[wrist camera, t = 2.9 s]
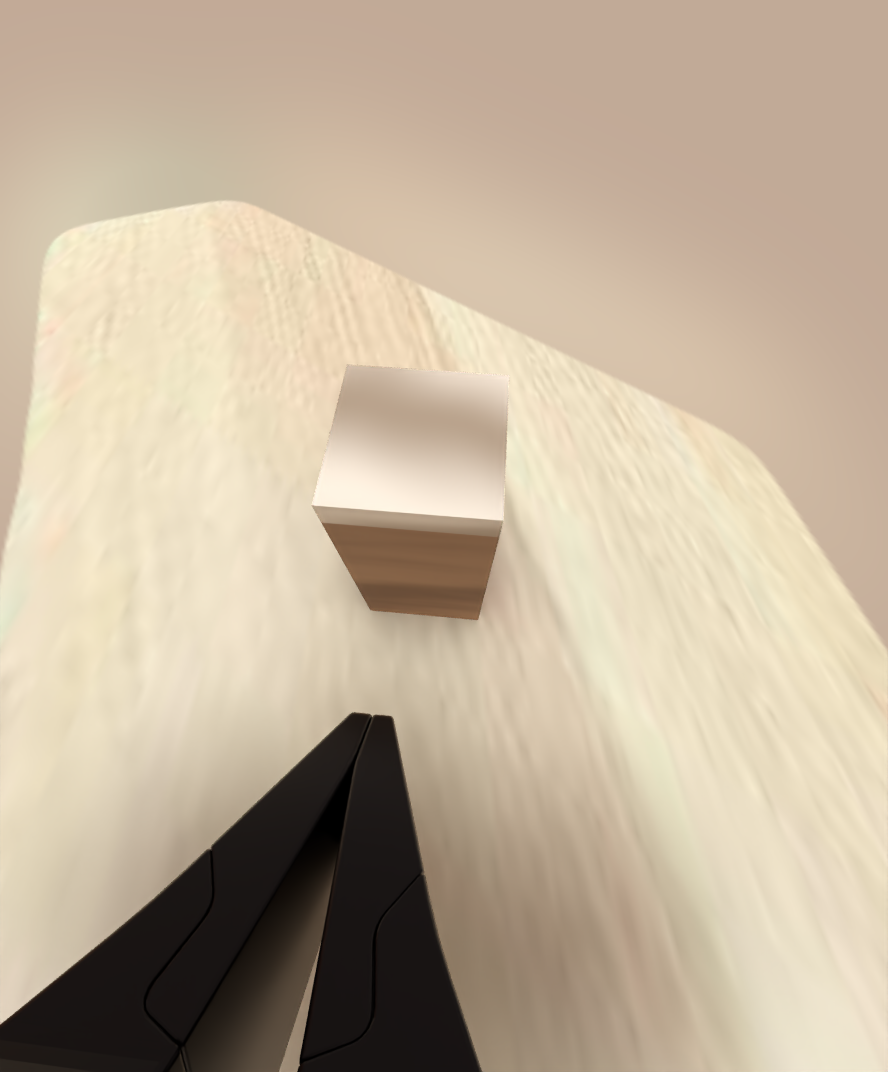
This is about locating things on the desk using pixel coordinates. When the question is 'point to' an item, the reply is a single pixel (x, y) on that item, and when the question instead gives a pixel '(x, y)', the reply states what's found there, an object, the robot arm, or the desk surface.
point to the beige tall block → (416, 486)
